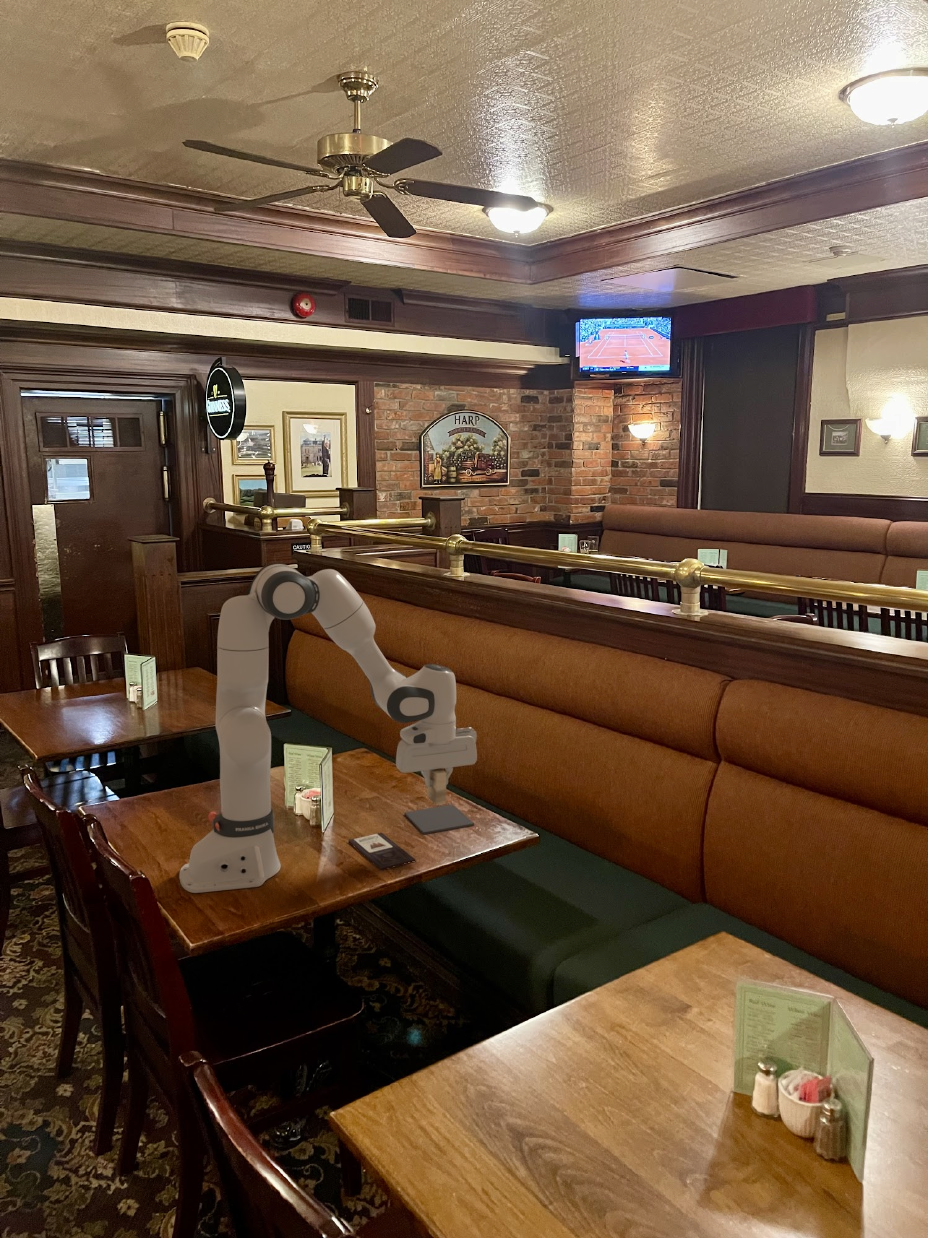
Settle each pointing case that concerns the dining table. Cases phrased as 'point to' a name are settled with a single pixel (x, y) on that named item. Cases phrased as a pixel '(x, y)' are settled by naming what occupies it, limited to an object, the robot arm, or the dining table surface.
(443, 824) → the bar mat
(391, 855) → the chocolate bar
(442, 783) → the beech slab
